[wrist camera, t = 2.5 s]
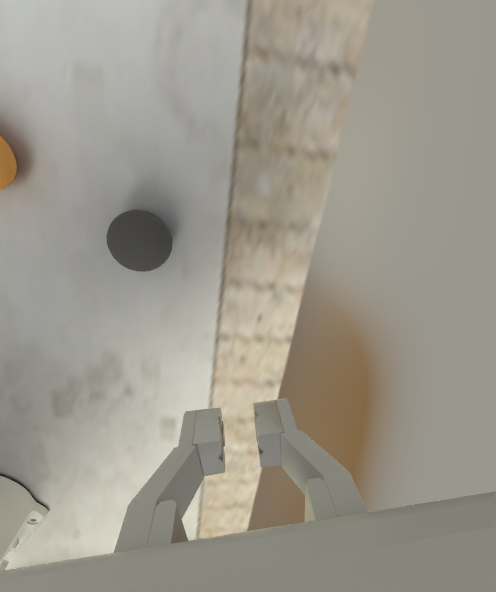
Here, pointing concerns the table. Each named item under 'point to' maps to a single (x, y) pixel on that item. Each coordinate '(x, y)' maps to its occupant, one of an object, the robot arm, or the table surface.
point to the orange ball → (6, 164)
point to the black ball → (139, 240)
